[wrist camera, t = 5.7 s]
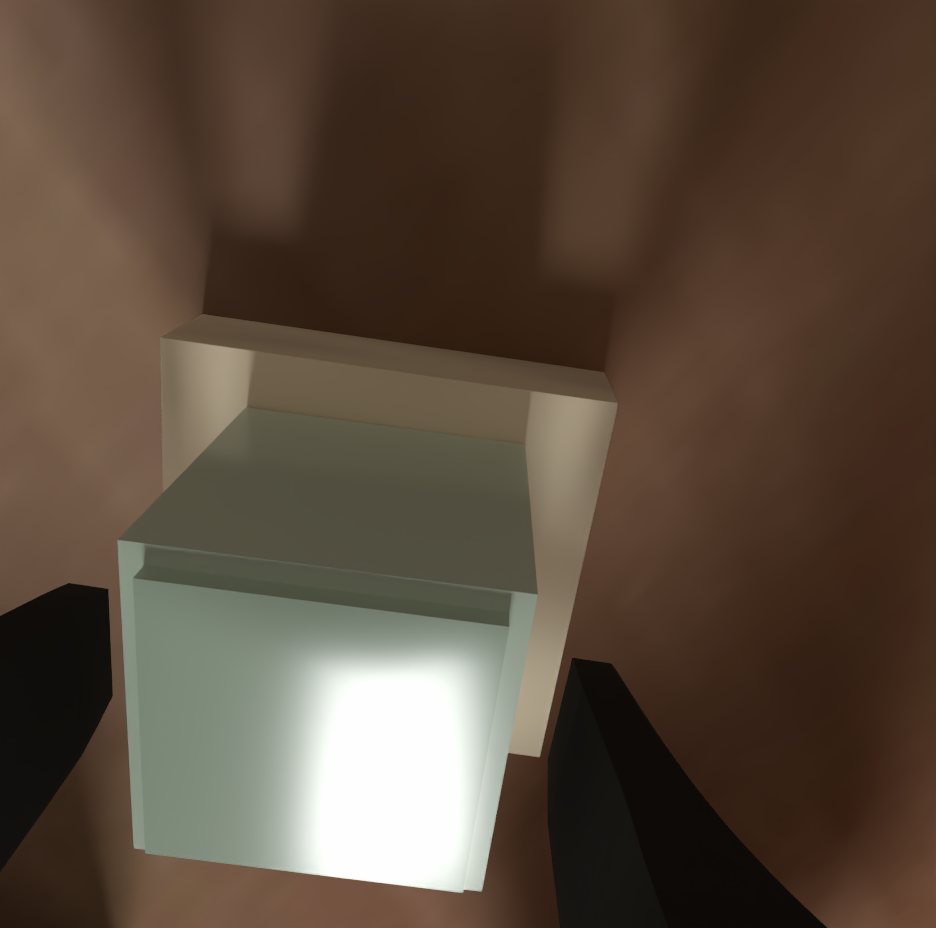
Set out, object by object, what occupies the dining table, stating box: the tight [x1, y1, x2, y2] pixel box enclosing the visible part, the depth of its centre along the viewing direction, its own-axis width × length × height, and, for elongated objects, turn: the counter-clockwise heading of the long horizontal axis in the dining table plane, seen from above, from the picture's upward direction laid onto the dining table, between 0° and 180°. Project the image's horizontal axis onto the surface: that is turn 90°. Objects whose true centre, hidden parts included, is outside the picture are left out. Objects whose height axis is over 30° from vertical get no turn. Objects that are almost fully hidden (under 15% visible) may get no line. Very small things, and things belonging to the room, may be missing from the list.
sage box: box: [118, 407, 538, 893], centre depth 12 cm, size 5×5×5 cm
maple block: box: [160, 314, 618, 757], centre depth 16 cm, size 8×8×2 cm
